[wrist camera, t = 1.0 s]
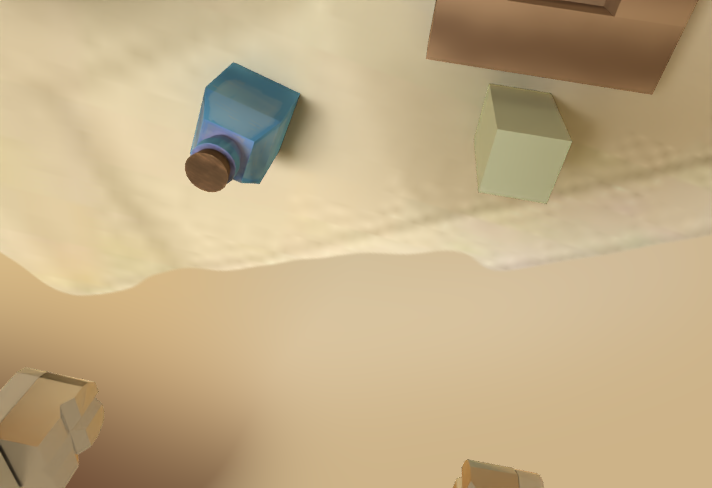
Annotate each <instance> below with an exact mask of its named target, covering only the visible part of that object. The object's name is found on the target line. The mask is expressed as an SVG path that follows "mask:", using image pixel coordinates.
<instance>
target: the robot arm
mask: <svg viewBox="0 0 712 488" xmlns="http://www.w3.org/2000/svg"><path fill="white" fill-rule="evenodd" d="M98 392H99V391H98V388H97V385H96V383H95V382H92V381H88V380H83V379H78V378H73V377H68V376H64V375H59V374H54V373H51V372H47V371H42V370H37V369H32V368H27V367H25V368H23V369H22V370H20V371H18V372H17V373H15V374H14V376H13V377H12V378H11V379H10V380H9V381H8V382H7V383H6V385H4V387H3V388H2V389H1V390H0V488H65V486H66V485H67V483H68V482H69V480H70V479H71V477H72V476H73V474H74V472H75V471H76V469H77V468H78V466H79V458H78V454H80V453H82V452H83V451H85V450H86V449H88V448H90V447H91V446H92V444H93V443H94V441H95V440H96V438H97V436H98V435H99V432H100V430H101V427H102V424H103V421H104V408H103V405H102V403H101V402H100V401H98V400H97V399H96V398H95V396H96V395H97V393H98ZM453 488H544V485H543V480H542V478H541V477H540V475H539V474H537V473H533V472H529V471H524V470H518V469H514V468H511V467H506V466H500V465H495V464H490V463H484V462H479V461H474V460H469V459H468V460H466V461H465V462H464V464H463V466H462V477H459V478H457V479H456V481H455V484H454V486H453Z"/></svg>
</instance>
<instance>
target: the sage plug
mask: <svg viewBox="0 0 712 488" xmlns="http://www.w3.org/2000/svg"><path fill="white" fill-rule="evenodd" d="M571 144H572V140H571V137H570V135H569V133H568V131H567V128H566V126H565V124H564V122H563V120H562V117H561V115H560V113H559V111H558V108H557V106H556V104H555V102H554V99H553V97H552V95H551V93H546V92H540V91H533V90H527V89H521V88H514V87H508V86H502V85H496V84H489V86H488V90H487V93H486V97H485V100H484V104H483V108H482V111H481V115H480V119H479V122H478V126H477V129H476V133H475V137H474V148H475V160H476V171H477V182H478V192H480V193H486V194H492V195H497V196H503V197H509V198H515V199H521V200H527V201H533V202H538V203H544V204H547V202H548V200H549V197H550V195H551V192H552V190H553V187H554V185H555V183H556V180H557V178H558V175H559V173H560V170H561V168H562V165H563V163H564V161H565V158H566V156H567V153H568V151H569V148H570V146H571Z"/></svg>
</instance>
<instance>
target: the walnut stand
mask: <svg viewBox="0 0 712 488" xmlns="http://www.w3.org/2000/svg"><path fill="white" fill-rule="evenodd" d="M697 2H698V0H436V4H435V9H434V14H433V20H432V25H431V30H430V35H429V41H428V48H427V56H426V59H430V60H436V61H443V62H449V63H455V64H462V65H468V66H474V67H481V68H487V69H493V70H500V71H506V72H512V73H519V74H525V75H532V76H538V77H544V78H551V79H557V80H563V81H570V82H576V83H582V84H589V85H595V86H601V87H608V88H614V89H620V90H627V91H633V92H639V93H646V94H653V92H654V90H655V88H656V86H657V84H658V82H659V80H660V78H661V75H662V73H663V71H664V69H665V67H666V65H667V63H668V61H669V59H670V57H671V55H672V53H673V51H674V49H675V47H676V45H677V43H678V41H679V39H680V37H681V34H682V32H683V30H684V28H685V26H686V24H687V22H688V20H689V18H690V16H691V14H692V12H693V10H694V8H695V6H696V4H697Z"/></svg>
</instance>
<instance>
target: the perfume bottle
mask: <svg viewBox="0 0 712 488" xmlns="http://www.w3.org/2000/svg"><path fill="white" fill-rule="evenodd" d="M299 95H300V93H298V92H295V91H293V90H291V89H289V88H287V87H285V86H283V85H281V84H279V83H276V82H274V81H272V80H270V79H268V78H266V77H264V76H262V75H259V74H257V73H255V72H253V71H251V70H249V69H247V68H245V67H243V66H240V65H238V64H236V63H234V62H233V63H232V64H231V65H230V66H229V67H228V68H227V69H225V70H224V71H223V72H222V73H221V74H220V75H219V76H218V77H217V78H215V79H214V80H213V81H212V82H211V83H210V84H209V85H208V86H207V87H206V88H205V92H204V97H203V101H202V105H201V109H200V114H199V118H198V122H197V126H196V131H195V135H194V139H193V143H192V148H191V152H190V154H191V155H190V157H189V158H188V159H187V161H186V163H185V171H186V174H187V177H188V178H189V180H190V181H191V182H192V183H193V184H194V185H195V186H196V187H198V188H199V189H201V190H204V191H207V192H216V191H220V190H221V189H223V188H224V187H225V186H226V184H227V183H229V182H230V181H231V180H232V179H233V180H236V181H238V182H240V183H256V184H260V182H261V180H262V179H263V177H264V175H265V174H266V172H267V170H268V169H269V167H270V165H271V164H272V162H273V160H274V159H275V157H276V155H277V154H278V152H279V150H280V147H281V145H282V142H283V139H284V136H285V134H286V131H287V128H288V125H289V123H290V120H291V117H292V115H293V112H294V109H295V106H296V104H297V101H298V98H299Z"/></svg>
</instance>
